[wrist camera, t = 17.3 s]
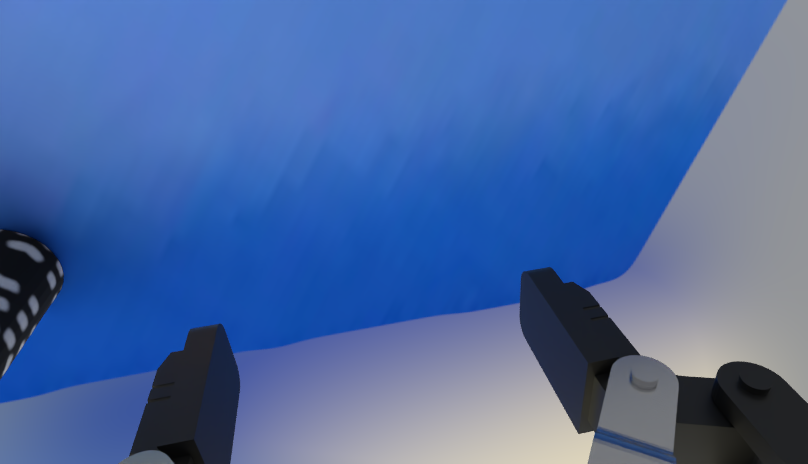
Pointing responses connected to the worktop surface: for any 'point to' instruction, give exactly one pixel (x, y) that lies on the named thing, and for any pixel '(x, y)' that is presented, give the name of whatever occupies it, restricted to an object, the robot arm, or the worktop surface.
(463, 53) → the worktop surface
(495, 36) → the worktop surface
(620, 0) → the worktop surface
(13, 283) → the white-spotted black cylinder
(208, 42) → the worktop surface
